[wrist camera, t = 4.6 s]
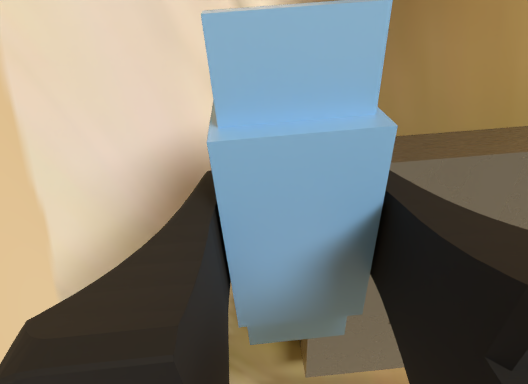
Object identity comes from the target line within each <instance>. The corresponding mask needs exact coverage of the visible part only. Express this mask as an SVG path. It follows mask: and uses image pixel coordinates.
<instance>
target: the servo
mask: <svg viewBox="0 0 528 384" xmlns="http://www.w3.org/2000/svg"><path fill="white" fill-rule="evenodd" d="M392 1H393V0H341V1H328V2H314V3H301V4H287V5H274V6H260V7H247V8H233V9H220V10H206V11H203V12H202V13H201V18H202V25H203V31H204V38H205V45H206V52H207V58H208V65H209V72H210V79H211V85H212V92H213V99H214V100H213V106H212V113H211V119H210V125H209V131H208V137H207V147H208V152H209V158H210V164H211V170H212V175H213V181H214V187H215V193H216V198H217V204H218V210H219V216H220V221H221V227H222V233H223V239H224V244H225V250H226V256H227V261H228V267H229V273H230V279H231V284H232V290H233V296H234V302H235V307H236V313H237V319H238V325H239V327H248V334H249V341H250V345H254V344H264V343H273V342H282V341H292V340H301V339H311V338H320V337H329V336H339V335H344V334H345V327H346V320H347V316H352V315H362V313H363V308H364V303H365V297H366V292H367V287H368V281H369V276H370V271H371V265H372V260H373V255H374V249H375V244H376V239H377V233H378V228H379V223H380V217H381V212H382V207H383V201H384V196H385V191H386V185H387V180H388V175H389V169H390V164H391V159H392V153H393V148H394V143H395V137H396V132H397V127H398V126H397V125H396V124H395V123H394V122H393V121H392V120H391V119H390V118H389V117H388V116H387V115H386V114H385V113H384V112H382V111H381V110H380V109H379V108H378V107H377V105H378V98H379V91H380V84H381V77H382V70H383V63H384V56H385V49H386V42H387V35H388V28H389V21H390V15H391V8H392Z"/></svg>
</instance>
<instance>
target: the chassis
mask: <svg viewBox="0 0 528 384" xmlns="http://www.w3.org/2000/svg"><path fill="white" fill-rule="evenodd" d="M389 170H390V171H392V172H394V173H396V174H397V175H399V176H401V177H403V178H405V179H406V180H408V181H410V182H412V183H414V184H415V185H417V186H419V187H421V188H423V189H425V190H427V191H429V192H431V193H433V194H435V195H437V196H439V197H441V198H443V199H445V200H448V201H450V202H452V203H454V204H457V205H459V206H462V207H464V208H467V209H469V210H472V211H474V212H477V213H479V214H482V215H485V216H487V217H490V218H493V219H496V220H499V221H502V222H505V223H508V224H511V225H514V226H517V227H521V228H524V229H527V230H528V126H526V127H513V128H500V129H488V130H475V131H462V132H449V133H437V134H424V135H411V136H399V137H395V143H394V148H393V153H392V159H391V164H390V169H389ZM300 348H301V353H302V359H303V365H304V370H305V376H306V377H316V376H325V375H335V374H345V373H354V372H364V371H373V370H383V369H393V368H402V367H404V364H403V360H402V357H401V354H400V351H399V348H398V345H397V342H396V339H395V336H394V333H393V330H392V327H391V324H390V321H389V319H388V316H387V313H386V310H385V307H384V305H383V302H382V299H381V297H380V294H379V292H378V290H377V287H376V285H375V283H374V281H373V279H372V277H371V275H370V276H369V281H368V287H367V292H366V297H365V303H364V308H363V313H362V315H352V316H347V320H346V327H345V334H344V335H339V336H329V337H320V338H311V339H301V340H300Z"/></svg>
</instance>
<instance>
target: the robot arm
mask: <svg viewBox="0 0 528 384" xmlns="http://www.w3.org/2000/svg"><path fill="white" fill-rule="evenodd" d="M370 275H371V277H372V279H373V281H374V283H375V285H376V287H377V290H378V292H379V294H380V297H381V299H382V302H383V305H384V307H385V310H386V313H387V316H388V319H389V321H390V324H391V327H392V330H393V333H394V336H395V339H396V342H397V345H398V348H399V351H400V354H401V357H402V360H403V364H404V367H405V370H406V374H407V377H408V380H409V383H410V384H528V230H527V229H524V228H521V227H517V226H514V225H511V224H508V223H505V222H502V221H499V220H496V219H493V218H490V217H487V216H485V215H482V214H479V213H477V212H474V211H472V210H469V209H467V208H464V207H462V206H459V205H457V204H454V203H452V202H450V201H448V200H445V199H443V198H441V197H439V196H437V195H435V194H433V193H431V192H429V191H427V190H425V189H423V188H421V187H419V186H417V185H415V184H414V183H412V182H410V181H408V180H406V179H405V178H403V177H401V176H399V175H397V174H396V173H394V172H392V171H390V170H389V175H388V180H387V185H386V191H385V196H384V201H383V207H382V212H381V217H380V223H379V228H378V233H377V239H376V244H375V249H374V255H373V260H372V265H371V271H370ZM230 281H231V279H230V273H229V267H228V261H227V256H226V250H225V244H224V239H223V233H222V227H221V221H220V216H219V210H218V204H217V198H216V193H215V187H214V181H213V175H212V171H207V172H206V174H205V175H204V176H203V178H202V179H201V181H200V182H199V184H198V185H197V186H196V188H195V189H194V191H193V192H192V193H191V195H190V196H189V197H188V199H187V200H186V201H185V203H184V204H183V205H182V206H181V208H180V209H179V210H178V211H177V212H176V213H175V215H174V216H173V217H172V218H171V219H170V220H169V221H168V223H167V224H166V225H165V226H164V227H163V228H162V229H161V230H160V231H159V232H158V233H157V234H156V235H155V236H154V237H152V238H151V239H150V240H149V241H148V242H147V243H146V244H145V245H143V246H142V247H141V248H140V249H139V250H137V251H136V252H135V253H133V254H132V255H131V256H130V257H128V258H127V259H126V260H124V261H123V262H122V263H121V264H119V265H118V266H117V267H115V268H114V269H112V270H111V271H110V272H108V273H107V274H105V275H104V276H102V277H101V278H99V279H98V280H96V281H95V282H93V283H92V284H90V285H89V286H87V287H85V288H84V289H82V290H81V291H79V292H77V293H76V294H74V295H72V296H71V297H69V298H67V299H65V300H63V301H62V302H60V303H58V304H56V305H55V306H53V307H51V308H49V309H48V310H46V311H44V312H42V313H41V314H39V315H37V316H35V317H33V318H31V319H29V320H27V321H26V323H25V325H24V326H23V327H22V329H21V331H20V332H19V334H18V336H17V337H16V339H15V340H14V342H13V343H12V345H11V347H10V349H9V350H8V352H7V354H6V355H5V357H4V359H3V360H2V362H1V364H0V384H229V347H228V305H229V292H230Z"/></svg>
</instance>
